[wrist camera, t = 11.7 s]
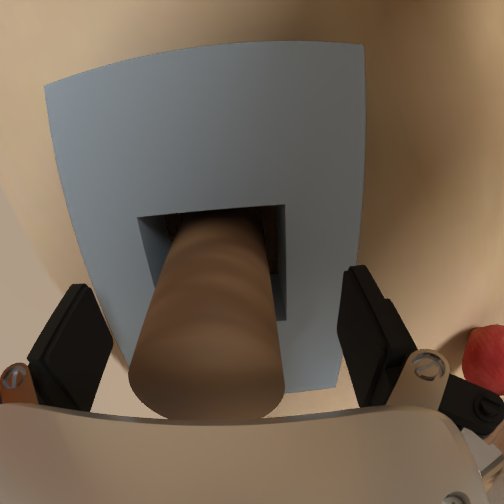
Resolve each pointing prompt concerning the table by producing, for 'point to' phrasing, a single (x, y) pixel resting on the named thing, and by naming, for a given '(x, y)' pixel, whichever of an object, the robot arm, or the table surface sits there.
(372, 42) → the table surface
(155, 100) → the hole board
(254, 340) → the walnut peg
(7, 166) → the table surface
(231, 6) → the table surface
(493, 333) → the onion
